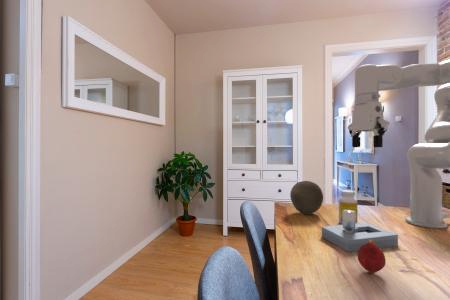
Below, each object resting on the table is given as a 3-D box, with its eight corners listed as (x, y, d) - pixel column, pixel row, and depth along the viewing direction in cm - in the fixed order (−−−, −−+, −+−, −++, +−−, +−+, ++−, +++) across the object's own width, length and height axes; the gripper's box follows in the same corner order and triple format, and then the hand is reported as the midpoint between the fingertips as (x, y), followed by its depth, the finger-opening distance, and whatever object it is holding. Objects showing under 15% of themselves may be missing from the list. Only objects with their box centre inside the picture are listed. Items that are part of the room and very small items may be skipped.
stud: (349, 239, 78) (349, 209, 78) (359, 243, 74) (359, 212, 74) (339, 240, 77) (339, 210, 77) (348, 245, 73) (348, 213, 73)
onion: (386, 282, 53) (386, 247, 53) (356, 275, 56) (356, 241, 56) (384, 270, 58) (385, 238, 58) (358, 264, 61) (358, 234, 61)
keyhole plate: (366, 232, 84) (366, 222, 84) (397, 245, 73) (397, 234, 73) (321, 236, 80) (321, 226, 80) (348, 252, 69) (348, 240, 69)
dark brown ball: (288, 209, 115) (288, 178, 115) (318, 210, 113) (318, 179, 113) (292, 218, 101) (292, 183, 101) (327, 219, 99) (327, 183, 99)
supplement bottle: (360, 226, 90) (360, 192, 90) (341, 225, 92) (341, 192, 92) (354, 221, 97) (354, 189, 97) (336, 220, 98) (336, 189, 98)
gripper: (397, 95, 79) (397, 147, 79) (356, 104, 96) (356, 147, 96) (378, 94, 77) (378, 147, 77) (340, 104, 94) (340, 147, 94)
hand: (366, 147), depth 86 cm, fingers open, 9 cm apart
